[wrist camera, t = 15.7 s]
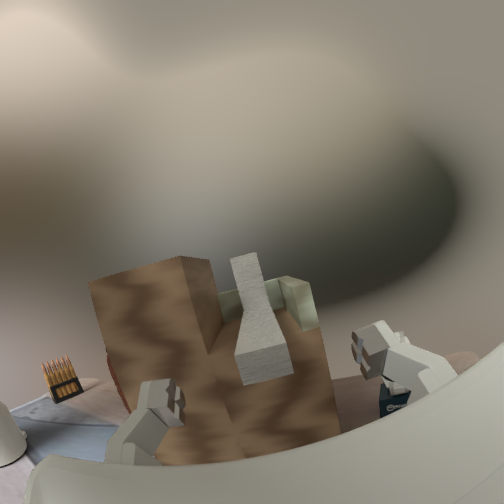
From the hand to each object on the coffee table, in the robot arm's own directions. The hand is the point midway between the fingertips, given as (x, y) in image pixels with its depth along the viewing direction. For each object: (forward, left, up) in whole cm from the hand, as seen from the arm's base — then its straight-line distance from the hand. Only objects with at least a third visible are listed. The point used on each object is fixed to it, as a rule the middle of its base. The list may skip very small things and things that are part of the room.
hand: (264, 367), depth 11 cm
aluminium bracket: (0, +13, -2) cm, 13 cm away
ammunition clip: (-59, +46, -20) cm, 77 cm away
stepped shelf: (-5, +20, -19) cm, 28 cm away
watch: (+15, +18, -19) cm, 30 cm away
